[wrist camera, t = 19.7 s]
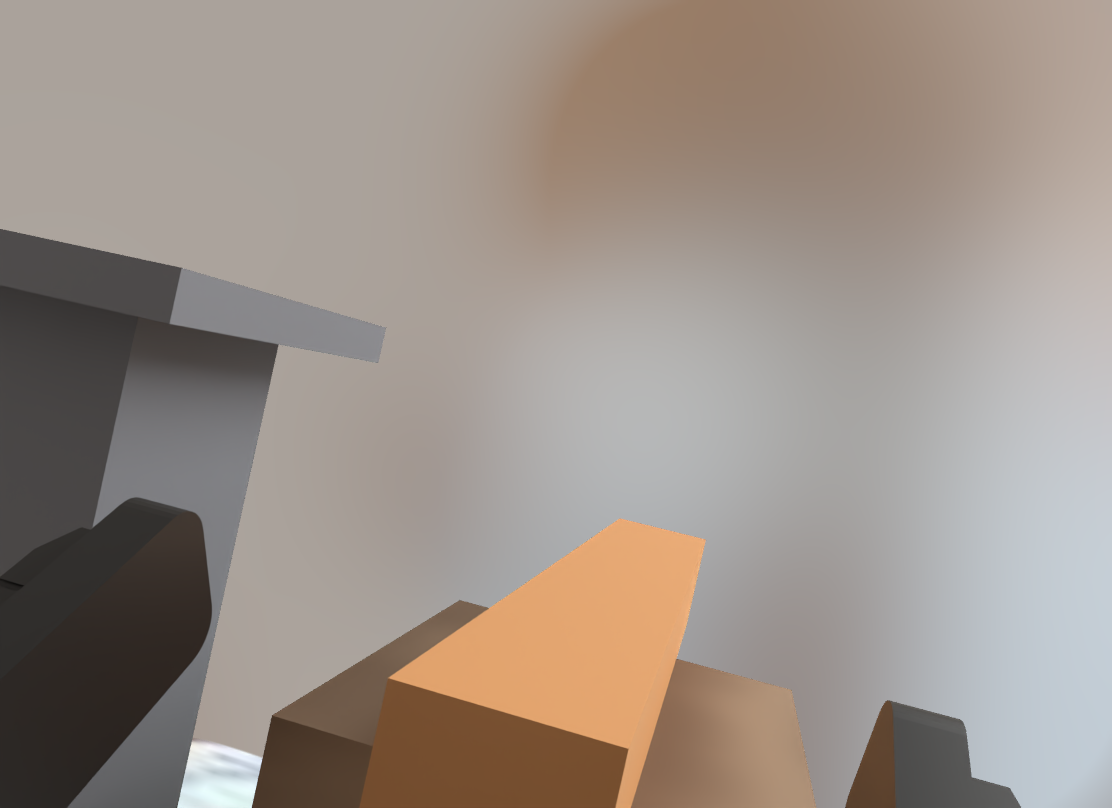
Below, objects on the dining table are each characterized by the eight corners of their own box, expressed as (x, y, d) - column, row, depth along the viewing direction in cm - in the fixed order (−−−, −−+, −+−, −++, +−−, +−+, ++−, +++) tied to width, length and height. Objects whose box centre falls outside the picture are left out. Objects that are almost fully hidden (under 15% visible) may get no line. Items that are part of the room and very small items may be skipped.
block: (686, 626, 33) (705, 539, 33) (572, 1000, 11) (629, 749, 11) (600, 603, 33) (619, 518, 33) (334, 917, 12) (388, 677, 12)
